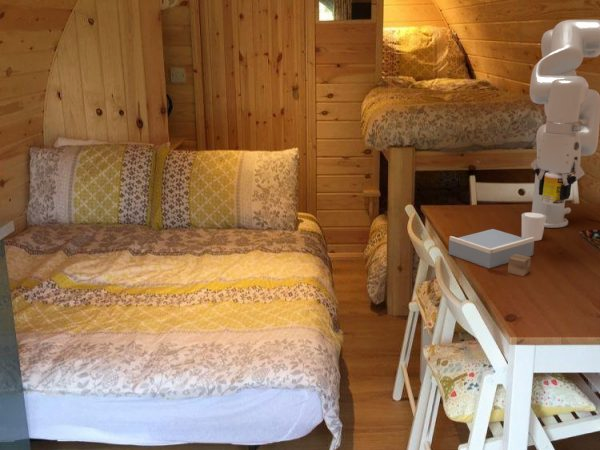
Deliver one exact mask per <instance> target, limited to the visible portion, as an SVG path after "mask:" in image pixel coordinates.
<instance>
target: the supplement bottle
mask: <svg viewBox="0 0 600 450" xmlns="http://www.w3.org/2000/svg"><path fill="white" fill-rule="evenodd" d="M561 185H564V184H563V179H562V174H560V173H556V172H553V171H549V172H546V173H545V177H544V186H543V195H542V202H543V203H544V204H547V205H552V206H560V205H563V204H564V200H560V191H561Z"/></svg>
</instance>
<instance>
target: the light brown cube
mask: <svg viewBox="0 0 600 450" xmlns="http://www.w3.org/2000/svg"><path fill="white" fill-rule="evenodd" d="M531 258H532V257H531V256H528V257H527V256H522V255H518V254H515V255H513V256H511V257H510V258H509V263H507V264H508V265H507V267H508V268H507V274H512V275H517V276H520V277H524V276H526V275H527V274H528V273H530V268H531Z"/></svg>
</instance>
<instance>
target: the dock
mask: <svg viewBox="0 0 600 450" xmlns="http://www.w3.org/2000/svg"><path fill="white" fill-rule="evenodd" d="M448 240H449V241H448V255H451V256H453V257H456V258H458V259H461V260H464V261H467V262H471V263H473V264H475V265H479V266H481V267H484V268H486V269H492V268H496V267H498V266H502V265H505V264H509V258H510V257H511V256H513V255H515V254H518V255H522V256H527V257H531V256H534V247H535V241H534V240H535V238H534V237H530V238H527V239H525V238H522V236H518V235H516V234H515V235H514V234H511V233H509V232H504V231H502V230H498V229H494V228H491V229H487V230H483V231H480V232H476V233H472V234H467V235H464V236H459V237H456V236H453V235H450V236H449V239H448Z"/></svg>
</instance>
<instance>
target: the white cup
mask: <svg viewBox="0 0 600 450" xmlns="http://www.w3.org/2000/svg"><path fill="white" fill-rule="evenodd" d="M545 221H546V215H544V214H541V213H535V212H532V211H531V212H529V211H528V212H523V213H521V237H522V238H525V239H527V238H530V237H534V238H535V240H534V242H535V241H540V240H542V239H543V235H544V229H545V227H544V226H545Z"/></svg>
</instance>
